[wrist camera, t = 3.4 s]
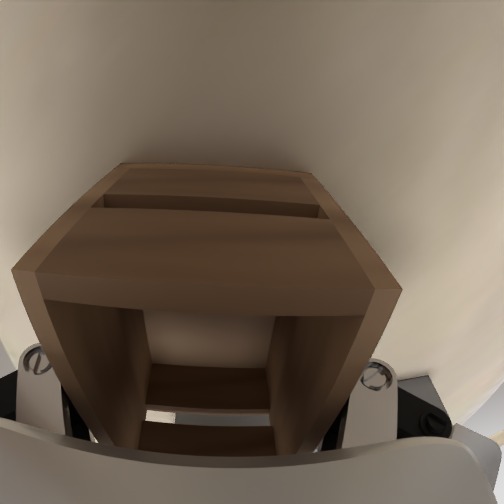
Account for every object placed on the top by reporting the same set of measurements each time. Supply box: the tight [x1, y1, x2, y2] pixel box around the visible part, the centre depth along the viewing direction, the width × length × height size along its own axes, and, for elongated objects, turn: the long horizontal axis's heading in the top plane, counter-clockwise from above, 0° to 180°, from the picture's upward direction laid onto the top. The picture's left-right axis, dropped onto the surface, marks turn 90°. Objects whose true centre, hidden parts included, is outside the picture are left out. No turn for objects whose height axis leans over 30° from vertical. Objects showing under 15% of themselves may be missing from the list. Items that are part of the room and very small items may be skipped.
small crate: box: [11, 163, 402, 457], centre depth 9 cm, size 9×6×6 cm, turn 174°
